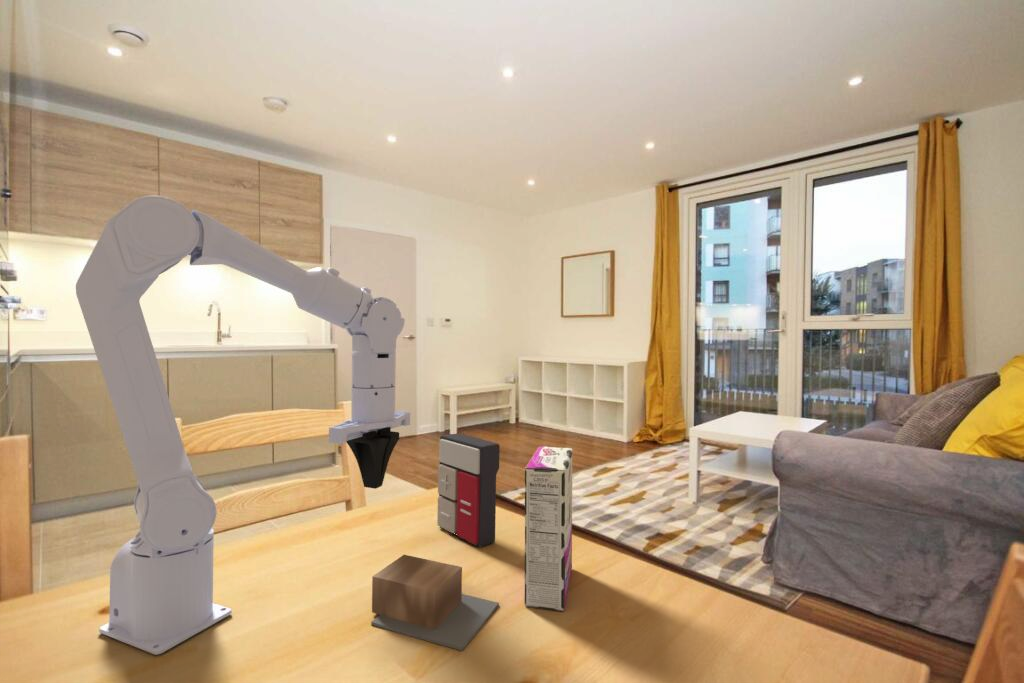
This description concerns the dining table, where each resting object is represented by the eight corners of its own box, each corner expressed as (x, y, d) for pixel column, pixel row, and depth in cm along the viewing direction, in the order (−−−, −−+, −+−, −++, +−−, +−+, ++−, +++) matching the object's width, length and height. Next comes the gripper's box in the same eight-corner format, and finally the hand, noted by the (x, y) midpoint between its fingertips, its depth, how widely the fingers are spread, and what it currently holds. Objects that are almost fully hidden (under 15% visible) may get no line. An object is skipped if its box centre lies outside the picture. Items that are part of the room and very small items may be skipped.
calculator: (434, 527, 79) (435, 435, 79) (455, 521, 82) (457, 432, 82) (476, 550, 71) (478, 447, 71) (498, 542, 74) (500, 443, 74)
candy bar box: (535, 564, 67) (537, 445, 67) (572, 568, 66) (574, 447, 66) (521, 608, 56) (523, 465, 56) (564, 613, 55) (567, 468, 55)
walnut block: (372, 576, 54) (434, 591, 51) (403, 554, 59) (461, 567, 56) (371, 612, 54) (434, 629, 51) (403, 587, 59) (461, 601, 56)
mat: (371, 624, 52) (371, 621, 52) (417, 585, 60) (417, 583, 60) (462, 650, 48) (462, 647, 48) (498, 605, 56) (498, 602, 56)
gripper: (361, 393, 58) (360, 507, 58) (428, 383, 71) (427, 475, 71) (315, 390, 60) (315, 499, 60) (388, 381, 74) (387, 470, 74)
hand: (372, 486), depth 66 cm, fingers closed
